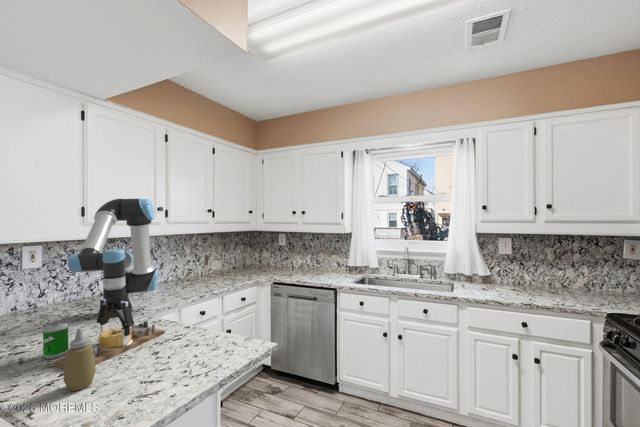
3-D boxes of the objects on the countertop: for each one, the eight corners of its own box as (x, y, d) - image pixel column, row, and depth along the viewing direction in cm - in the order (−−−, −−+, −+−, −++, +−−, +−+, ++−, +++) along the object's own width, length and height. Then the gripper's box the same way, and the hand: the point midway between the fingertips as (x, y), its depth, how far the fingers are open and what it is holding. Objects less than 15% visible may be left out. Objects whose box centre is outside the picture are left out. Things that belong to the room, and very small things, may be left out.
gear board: (141, 330, 144) (141, 315, 144) (164, 333, 140) (164, 318, 140) (53, 366, 110) (52, 346, 110) (79, 372, 106) (79, 352, 106)
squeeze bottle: (102, 379, 101) (101, 324, 101) (83, 393, 93) (83, 333, 93) (76, 380, 101) (75, 324, 101) (56, 394, 92) (55, 334, 93)
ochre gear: (118, 335, 132) (118, 326, 132) (137, 338, 128) (137, 329, 128) (92, 346, 122) (92, 336, 122) (111, 349, 118) (111, 339, 118)
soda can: (66, 349, 124) (65, 319, 125) (70, 354, 120) (70, 323, 120) (41, 356, 119) (40, 325, 119) (45, 361, 114) (44, 329, 114)
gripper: (85, 288, 126) (86, 342, 125) (126, 291, 118) (127, 349, 118) (103, 284, 133) (104, 335, 133) (143, 287, 125) (144, 341, 125)
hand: (115, 341), depth 125 cm, fingers closed on ochre gear, 11 cm apart
